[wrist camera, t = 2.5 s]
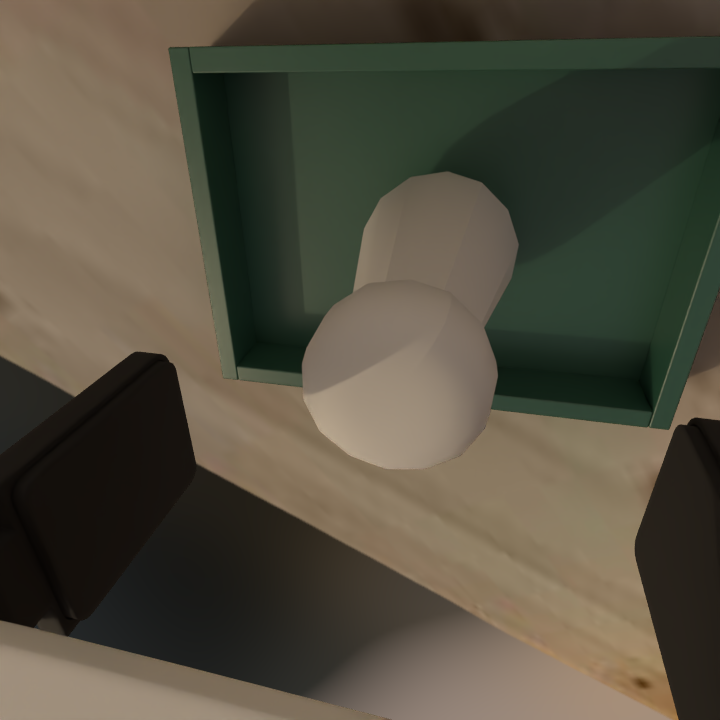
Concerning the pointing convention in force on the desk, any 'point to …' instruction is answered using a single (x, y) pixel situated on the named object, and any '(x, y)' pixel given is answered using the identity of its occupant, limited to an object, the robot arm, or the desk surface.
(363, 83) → the tray
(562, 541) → the desk surface
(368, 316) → the salt shaker
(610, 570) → the desk surface
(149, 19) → the desk surface
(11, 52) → the desk surface
